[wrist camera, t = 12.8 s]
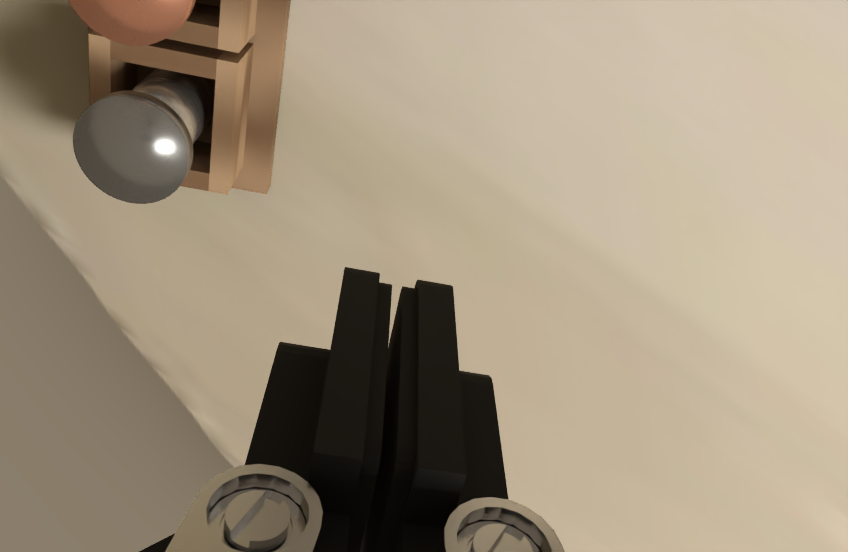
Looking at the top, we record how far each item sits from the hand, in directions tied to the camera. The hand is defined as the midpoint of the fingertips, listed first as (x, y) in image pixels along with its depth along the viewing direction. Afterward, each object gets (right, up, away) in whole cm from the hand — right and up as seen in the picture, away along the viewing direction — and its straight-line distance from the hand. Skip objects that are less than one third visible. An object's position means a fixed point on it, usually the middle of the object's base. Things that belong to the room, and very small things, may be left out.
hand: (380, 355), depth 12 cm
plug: (-12, +11, +29) cm, 33 cm away
